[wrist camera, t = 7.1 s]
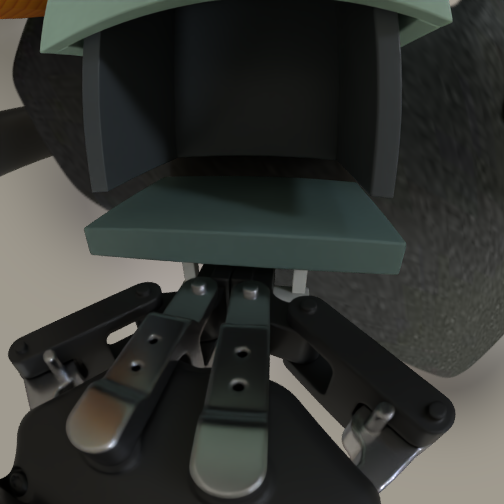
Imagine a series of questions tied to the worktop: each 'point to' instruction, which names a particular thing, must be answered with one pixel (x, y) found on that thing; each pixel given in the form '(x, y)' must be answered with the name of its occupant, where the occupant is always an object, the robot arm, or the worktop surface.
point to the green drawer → (248, 134)
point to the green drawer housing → (143, 3)
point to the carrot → (22, 8)
